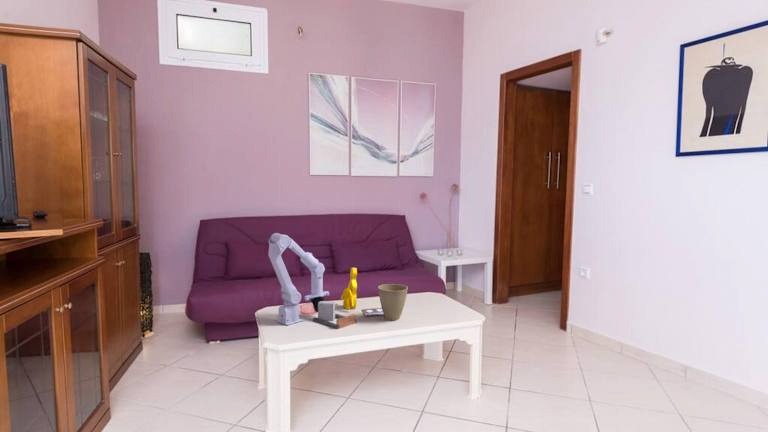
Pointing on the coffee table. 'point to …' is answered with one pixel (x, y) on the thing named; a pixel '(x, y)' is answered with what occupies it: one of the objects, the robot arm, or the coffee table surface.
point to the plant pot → (392, 300)
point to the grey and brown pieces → (338, 321)
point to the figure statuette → (350, 291)
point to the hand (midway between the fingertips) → (317, 311)
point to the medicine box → (326, 310)
